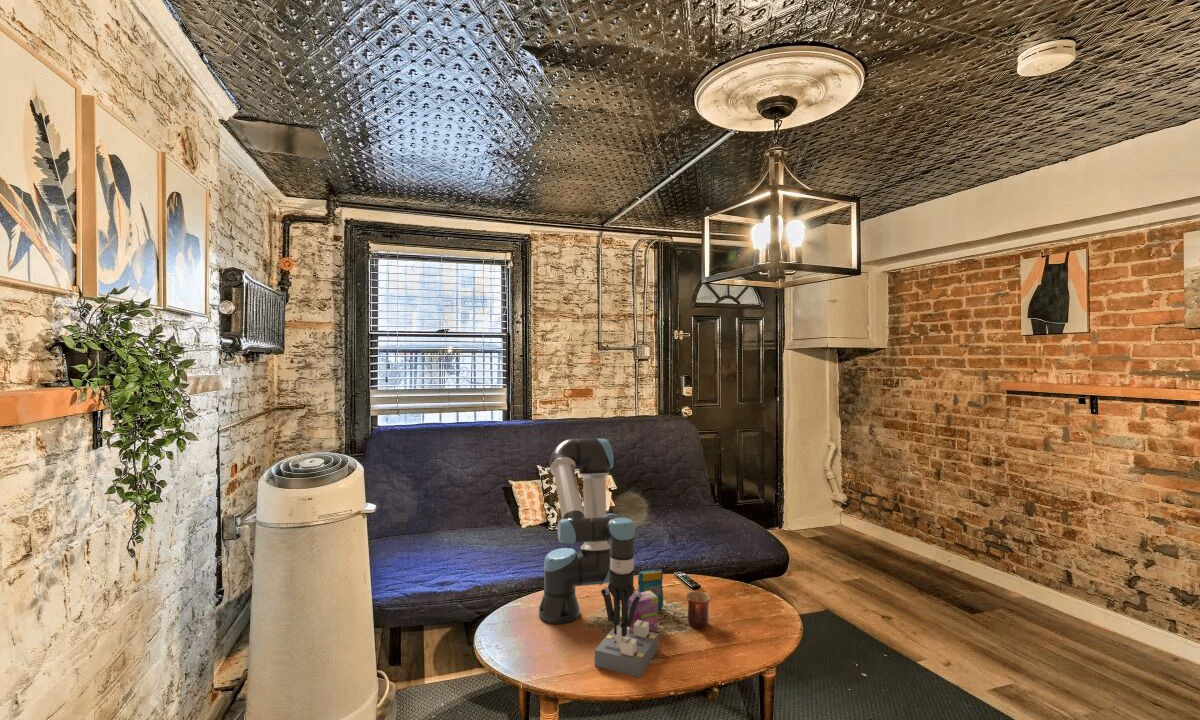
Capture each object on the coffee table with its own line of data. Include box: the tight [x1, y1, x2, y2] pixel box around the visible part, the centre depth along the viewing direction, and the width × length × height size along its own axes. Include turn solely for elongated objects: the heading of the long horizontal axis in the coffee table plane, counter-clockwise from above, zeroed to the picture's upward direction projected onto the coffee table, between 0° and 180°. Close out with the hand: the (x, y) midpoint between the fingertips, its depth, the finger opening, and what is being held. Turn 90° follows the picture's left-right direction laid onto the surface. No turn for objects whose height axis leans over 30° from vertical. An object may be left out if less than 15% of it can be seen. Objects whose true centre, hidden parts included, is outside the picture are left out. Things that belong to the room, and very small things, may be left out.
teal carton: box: [637, 568, 664, 613], centre depth 208 cm, size 10×4×15 cm, turn 108°
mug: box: [685, 590, 712, 630], centre depth 196 cm, size 12×9×10 cm
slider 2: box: [620, 637, 637, 656], centre depth 170 cm, size 4×4×4 cm
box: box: [627, 590, 658, 632], centre depth 194 cm, size 10×6×12 cm, turn 117°
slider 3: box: [634, 620, 650, 638], centre depth 181 cm, size 4×4×4 cm
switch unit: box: [594, 627, 659, 679], centre depth 176 cm, size 15×18×5 cm
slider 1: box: [613, 627, 629, 641], centre depth 177 cm, size 4×4×4 cm
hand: (620, 645), depth 171 cm, fingers closed
